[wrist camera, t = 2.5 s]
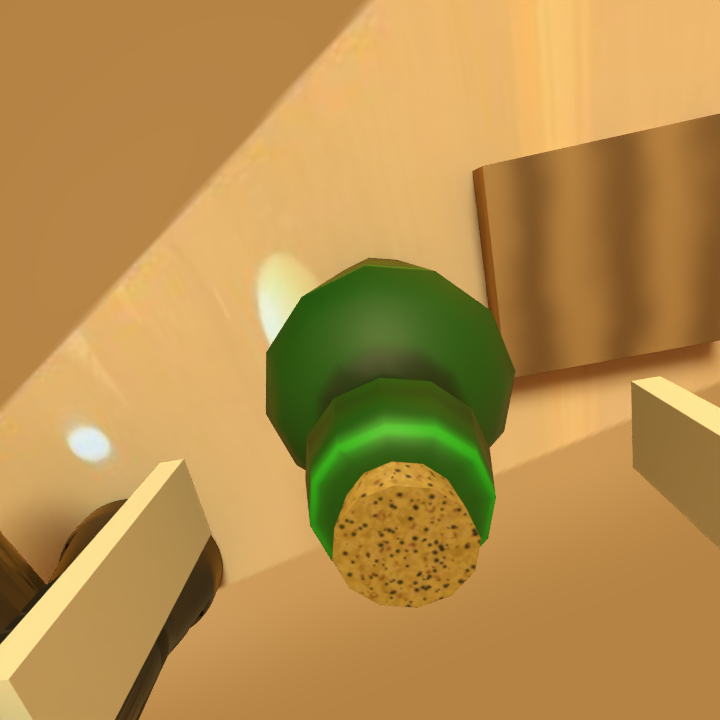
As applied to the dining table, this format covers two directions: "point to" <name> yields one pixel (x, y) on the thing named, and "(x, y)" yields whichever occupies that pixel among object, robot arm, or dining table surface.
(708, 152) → the walnut riser
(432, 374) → the bottle
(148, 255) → the dining table surface
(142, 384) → the dining table surface
